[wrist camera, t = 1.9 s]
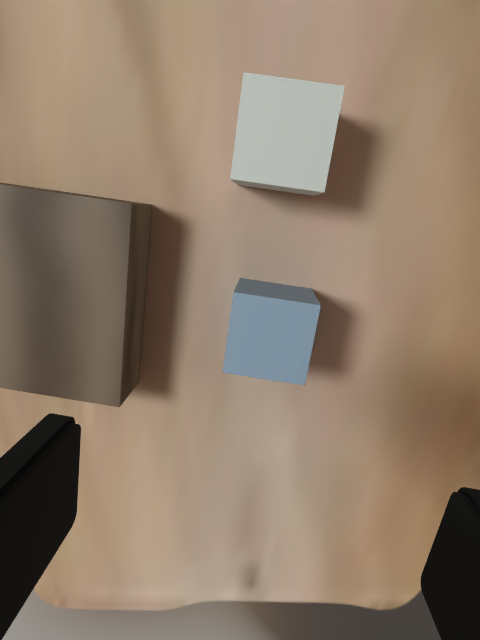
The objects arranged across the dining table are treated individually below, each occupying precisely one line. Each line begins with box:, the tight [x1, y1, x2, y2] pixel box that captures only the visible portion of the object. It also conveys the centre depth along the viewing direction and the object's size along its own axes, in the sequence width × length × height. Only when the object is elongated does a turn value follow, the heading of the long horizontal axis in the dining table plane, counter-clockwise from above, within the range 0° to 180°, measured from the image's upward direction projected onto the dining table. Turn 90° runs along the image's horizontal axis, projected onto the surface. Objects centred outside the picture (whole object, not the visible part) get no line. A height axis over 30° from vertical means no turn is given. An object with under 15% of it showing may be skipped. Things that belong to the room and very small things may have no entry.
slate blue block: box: [223, 278, 321, 385], centre depth 25 cm, size 5×5×5 cm
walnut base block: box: [0, 183, 152, 407], centre depth 26 cm, size 10×13×4 cm
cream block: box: [230, 72, 345, 196], centre depth 22 cm, size 5×5×5 cm
